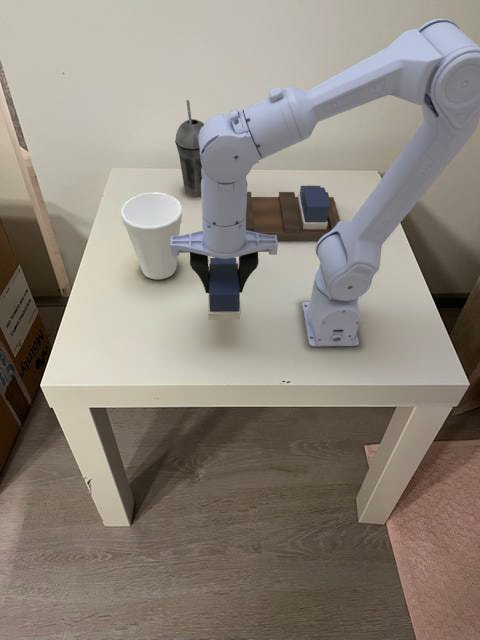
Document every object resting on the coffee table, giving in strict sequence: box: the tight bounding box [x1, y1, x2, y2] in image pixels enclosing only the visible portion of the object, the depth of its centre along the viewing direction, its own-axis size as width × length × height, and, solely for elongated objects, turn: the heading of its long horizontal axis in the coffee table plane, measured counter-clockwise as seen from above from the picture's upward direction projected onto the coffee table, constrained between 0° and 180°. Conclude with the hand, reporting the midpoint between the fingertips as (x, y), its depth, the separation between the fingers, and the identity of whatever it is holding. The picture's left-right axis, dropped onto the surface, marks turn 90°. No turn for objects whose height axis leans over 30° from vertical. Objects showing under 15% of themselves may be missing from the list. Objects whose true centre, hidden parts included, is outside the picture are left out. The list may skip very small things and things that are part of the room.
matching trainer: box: [297, 185, 330, 229], centre depth 96 cm, size 10×5×5 cm, turn 2°
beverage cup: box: [174, 99, 205, 198], centre depth 98 cm, size 7×7×20 cm
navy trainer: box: [208, 257, 242, 321], centre depth 72 cm, size 10×5×5 cm, turn 3°
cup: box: [120, 191, 183, 280], centre depth 83 cm, size 10×10×13 cm
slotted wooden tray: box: [246, 191, 341, 242], centre depth 97 cm, size 12×20×3 cm, turn 92°
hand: (224, 288), depth 73 cm, fingers closed on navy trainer, 4 cm apart
